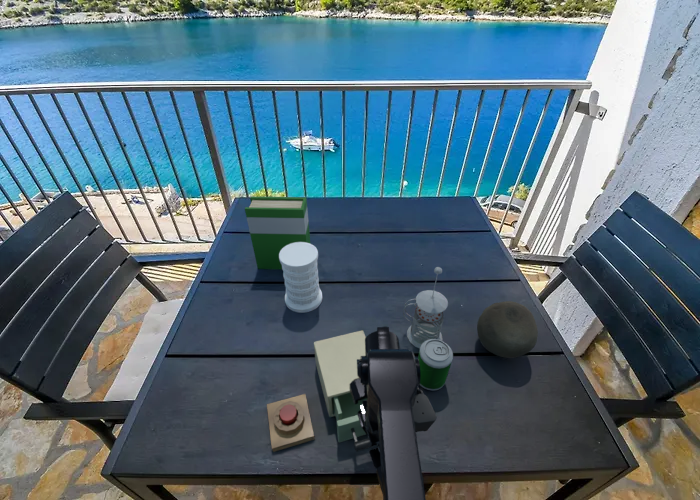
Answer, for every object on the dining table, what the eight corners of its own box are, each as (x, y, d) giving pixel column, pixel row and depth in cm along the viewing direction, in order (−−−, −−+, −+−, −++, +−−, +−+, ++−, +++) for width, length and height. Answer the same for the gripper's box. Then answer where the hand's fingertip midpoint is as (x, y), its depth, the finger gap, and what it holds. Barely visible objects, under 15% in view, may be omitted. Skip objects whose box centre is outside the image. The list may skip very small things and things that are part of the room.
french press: (440, 354, 92) (458, 286, 77) (397, 342, 95) (406, 275, 80) (444, 326, 100) (461, 259, 84) (404, 316, 102) (414, 250, 87)
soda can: (447, 393, 84) (457, 364, 76) (416, 392, 84) (423, 363, 76) (441, 365, 90) (450, 336, 82) (412, 365, 90) (418, 336, 82)
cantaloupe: (463, 353, 92) (476, 316, 83) (480, 319, 102) (494, 282, 92) (519, 381, 86) (539, 344, 77) (531, 342, 95) (551, 304, 86)
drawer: (396, 447, 73) (399, 431, 69) (344, 464, 71) (344, 449, 66) (368, 374, 87) (370, 356, 82) (324, 386, 84) (322, 369, 80)
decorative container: (316, 315, 103) (312, 270, 92) (279, 309, 105) (270, 263, 94) (326, 288, 112) (324, 244, 100) (292, 283, 114) (286, 238, 102)
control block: (314, 439, 75) (313, 432, 73) (272, 452, 73) (270, 445, 71) (305, 397, 83) (304, 389, 81) (267, 407, 81) (265, 400, 79)
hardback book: (257, 268, 119) (244, 208, 104) (262, 255, 125) (250, 196, 110) (309, 269, 119) (303, 209, 104) (311, 256, 124) (306, 197, 110)
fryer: (381, 402, 82) (383, 381, 76) (329, 417, 79) (327, 396, 73) (362, 351, 93) (362, 330, 87) (315, 363, 90) (313, 341, 84)
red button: (298, 422, 75) (297, 418, 74) (281, 426, 74) (280, 423, 73) (295, 406, 78) (294, 402, 77) (279, 411, 77) (278, 407, 76)
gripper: (465, 454, 48) (445, 494, 57) (409, 345, 62) (400, 391, 71) (389, 481, 45) (382, 517, 55) (348, 360, 59) (348, 407, 69)
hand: (379, 450), depth 62 cm, fingers closed
